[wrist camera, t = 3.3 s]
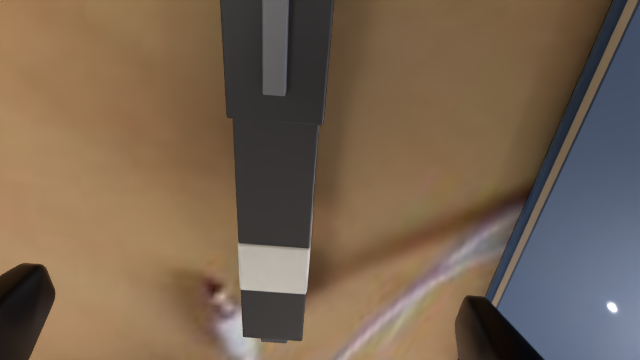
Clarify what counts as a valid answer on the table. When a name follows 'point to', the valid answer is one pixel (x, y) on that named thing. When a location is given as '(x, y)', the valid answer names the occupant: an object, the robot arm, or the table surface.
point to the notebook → (584, 215)
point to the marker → (275, 151)
